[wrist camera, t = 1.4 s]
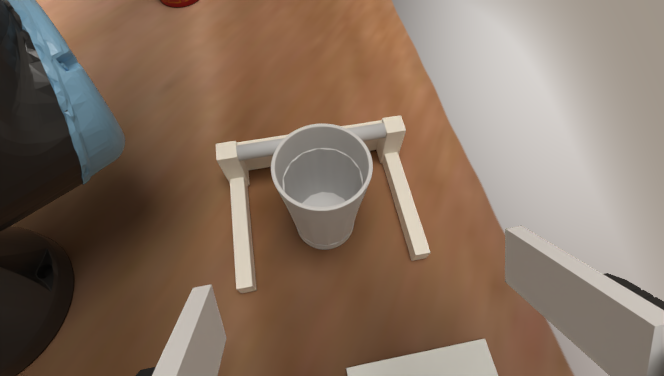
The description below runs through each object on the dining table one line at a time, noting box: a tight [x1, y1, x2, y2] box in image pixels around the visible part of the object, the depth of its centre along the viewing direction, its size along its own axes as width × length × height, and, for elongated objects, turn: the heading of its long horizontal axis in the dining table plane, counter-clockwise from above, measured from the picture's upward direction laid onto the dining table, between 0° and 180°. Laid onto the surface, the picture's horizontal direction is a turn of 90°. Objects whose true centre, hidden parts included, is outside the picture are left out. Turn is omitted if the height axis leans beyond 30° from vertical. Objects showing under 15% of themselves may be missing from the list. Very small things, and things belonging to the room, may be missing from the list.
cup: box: [271, 124, 373, 250], centre depth 32 cm, size 8×8×12 cm
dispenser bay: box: [216, 115, 430, 293], centre depth 36 cm, size 16×20×6 cm
